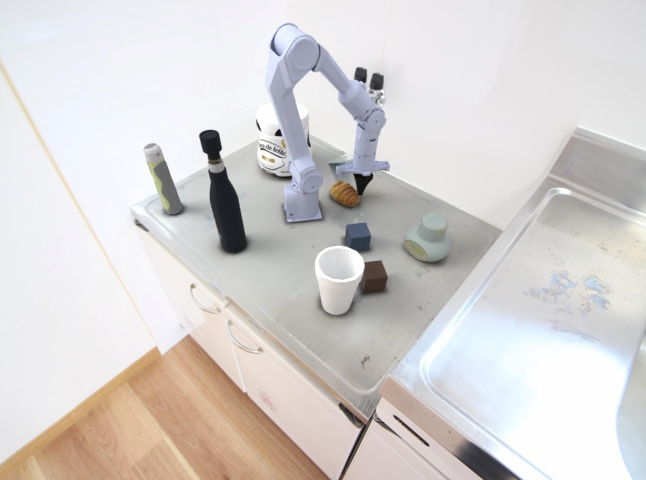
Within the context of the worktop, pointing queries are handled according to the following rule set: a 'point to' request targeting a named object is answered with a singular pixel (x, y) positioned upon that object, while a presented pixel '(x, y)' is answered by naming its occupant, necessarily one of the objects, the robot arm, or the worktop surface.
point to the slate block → (358, 236)
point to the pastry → (344, 194)
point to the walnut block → (373, 277)
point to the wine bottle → (223, 196)
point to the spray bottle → (162, 178)
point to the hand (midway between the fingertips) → (359, 193)
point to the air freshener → (429, 238)
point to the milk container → (276, 140)
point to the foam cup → (338, 277)
